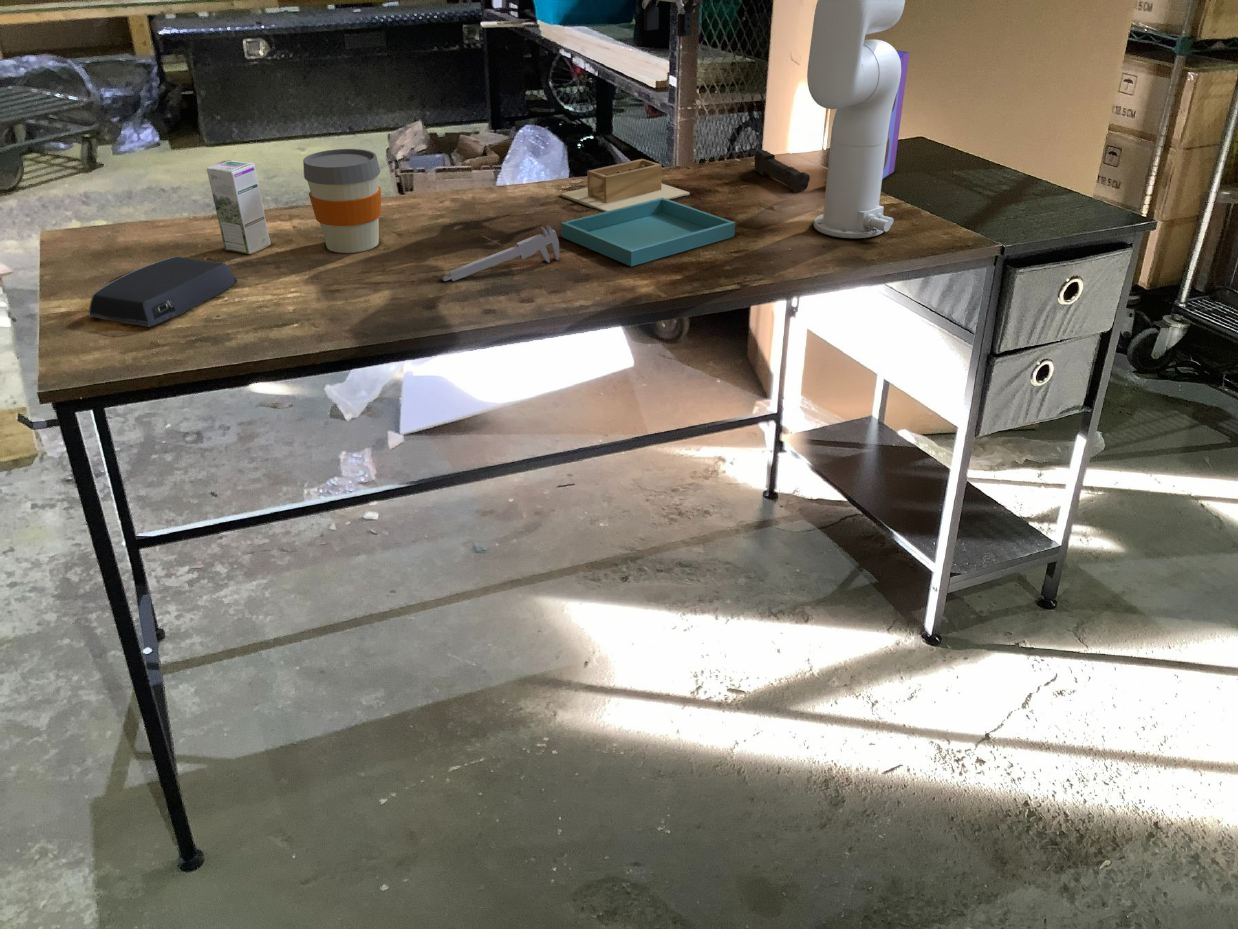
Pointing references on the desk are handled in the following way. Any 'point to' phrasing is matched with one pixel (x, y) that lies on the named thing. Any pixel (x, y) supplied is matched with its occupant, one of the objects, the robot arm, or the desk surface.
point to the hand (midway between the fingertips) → (667, 32)
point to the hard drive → (160, 291)
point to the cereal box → (895, 118)
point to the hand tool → (780, 171)
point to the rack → (624, 180)
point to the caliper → (512, 254)
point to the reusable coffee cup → (345, 197)
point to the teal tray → (647, 231)
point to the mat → (583, 198)
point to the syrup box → (239, 206)
